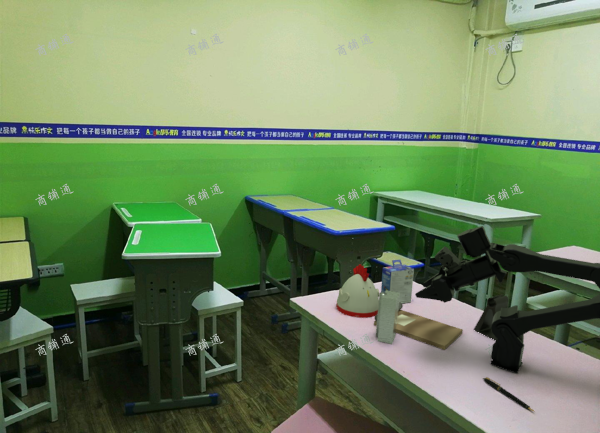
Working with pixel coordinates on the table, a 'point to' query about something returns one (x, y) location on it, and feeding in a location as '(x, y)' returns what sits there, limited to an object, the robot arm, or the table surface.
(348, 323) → the table surface
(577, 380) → the table surface
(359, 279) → the kitchen timer
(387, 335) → the brushed steel block
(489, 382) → the fountain pen
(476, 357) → the table surface
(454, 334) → the walnut base leaf
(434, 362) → the table surface
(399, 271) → the ink cartridge box
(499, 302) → the phone stand
